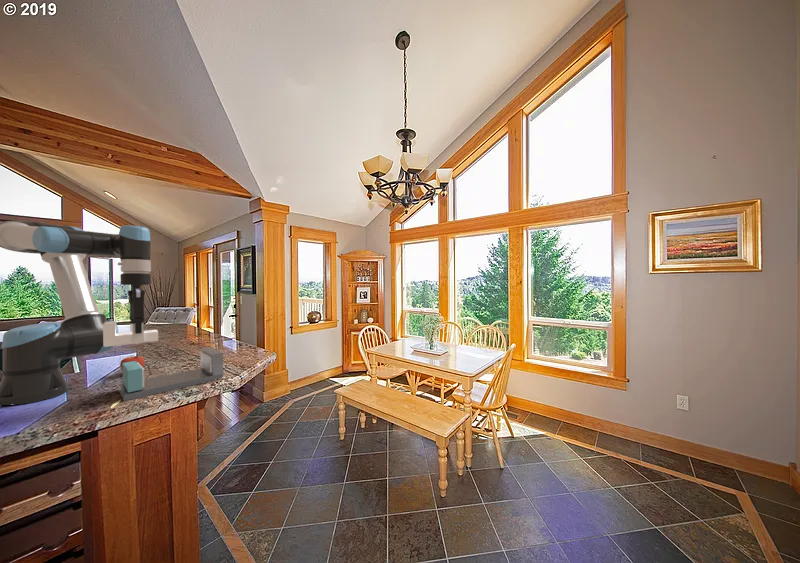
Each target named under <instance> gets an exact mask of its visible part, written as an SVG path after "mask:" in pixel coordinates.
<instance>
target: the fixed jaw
mask: <svg viewBox="0 0 800 563" xmlns="http://www.w3.org/2000/svg"><path fill="white" fill-rule="evenodd" d="M200 350H201V351H200V364H199V365H200V368H202V369H203V370H205V371H207V372H208V373H210V374H211V375H213V376H214V375H218V374H223V375H224V352H222V351H219V350H218V349H215V348H214V347H210V346H209V347H202V348H200Z"/></svg>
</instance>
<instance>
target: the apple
mask: <svg viewBox="0 0 800 563" xmlns="http://www.w3.org/2000/svg"><path fill="white" fill-rule="evenodd" d="M132 361H136V362H138V363H139V364H140V365H141V366H142V367H143V368H144V366H145V359H144V357H142V356H139V354H138V353H136V355H132V356H127V357H125V358H123V359H122V360H120V363H119V367H120V370H121V371H122V372H123V369H122V363H126V362H132Z"/></svg>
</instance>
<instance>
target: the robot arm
mask: <svg viewBox="0 0 800 563" xmlns="http://www.w3.org/2000/svg"><path fill="white" fill-rule="evenodd" d="M151 240H152V239H151V234H150V230H149V228H148V227H145V226H140V225H131V224H130V225H127V224H125V225H121V226H120V228H119V232H118V233H115V234H114V233H107V232H106V233H105V232H99V231H98V232H96V231H89V230H88V231H87V230H83V229H82V228H79V227H78V226H77V227H75V226H71V225H66V224H65V225H61V224H52V223H43V222H35V221H29V220H6V221H1V222H0V248H2V249H4V250H8V251H11V252H15V253H16V252H17V253H24V254H25V253H27V254H39V255H40V257H41V259H42V261H43V262H45V263H46V264H47V263H48V264H49V266H50V270H51V273H52V277H53V280H54V283H55V287H56V291H57V294H58V297H59V301H60V304H61V308H62V312H63V315H64V319H63V320H62V321H61V322H56V321H53V322H50V321H49V322H42V323H33V324H27V325H23V326H19V327H15V328H11V329H9V330H7V331H5V332H4V333H3V336H2V342H1V348H2V378H1V380H0V405H11V404H20V405H23V404H22V403H26V404H32V403H36V401H37V402H41V401H45V400H48V398H49V399H51V398H55V397H58V396H60V395H63V394H65V393H67V392H68V391H69V383H68V381H67V379H66V377H65V376H64V374H63V373H62V370H61V361H62V360H66V359H72V358H77V357H83V356H89V355H97V354H100V353H104V352H108V351H110V350H112V349H113V348H114V347H115V346H109V347H104V346H103V324H105V322H111V321H112V320H107V316H106V315H105V313H102V312H99V310H98V307H97V303H96V300H95V297H94V293H93V290H92V287H91V284H90V281H89V278H88V273H87V271H86V268H85V265H84V259H85V258H86V257H87V256H90V255H91V256H103V257H107V258H120V259H119V260H120V262H118V263H117V265H118V266H120V272H121V274H120V285H122V286H130V290H127V296H128V303H129V325H130V327H129V330H130V331H129V332H132V340H133V344H132V345H136V344H137V345H138V344H144V343H145V342H144V331H145V329H144V328H145V326H144V322H145V320H146V319H145V309H144V308H145V307H144V305H145V304H144V303H145V292H146V291H145V290H144V289H143V285H146V286H147V285H151V284H152V275H151V274H150V272H152V260H151ZM118 327H119V326H118V324H117V323H116V333H119V328H118ZM44 399H45V400H44ZM31 402H32V403H31Z"/></svg>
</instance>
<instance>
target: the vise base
mask: <svg viewBox="0 0 800 563" xmlns="http://www.w3.org/2000/svg"><path fill="white" fill-rule="evenodd" d="M222 377H223V378H224V373H223V374H218V375H214V376H213V375H211V374H210V373H208V372H207V371H205V370H203V369H202V368H201V367H200V368H196V369H191V370H186V371H180V372H175V373H170V374H165V375H161V376H155V377H149V378H144V387H143V388H142V390H138V391H133V392H129V393H128V392H127V390H126V388H125V386H124V385H123V383H118V386H117V387H118V392H119V395H120V396H121V398H122V400H123V402H127V401H131V400H135V399H140V398H145V397H148V396H154V395H157V394H162V393H166V392H170V391H171V392H172V391H174V390H179V389H183V387H184V388H188V387H187V386H189V387H193V386H196V385H201V384H200V383H202V384H205V383H204V382H206V383H208V382H207V381H210V382H212V381H211V380H215V379H219V378H222ZM219 380H220V379H219ZM215 381H216V380H215ZM192 385H193V386H192Z"/></svg>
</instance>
